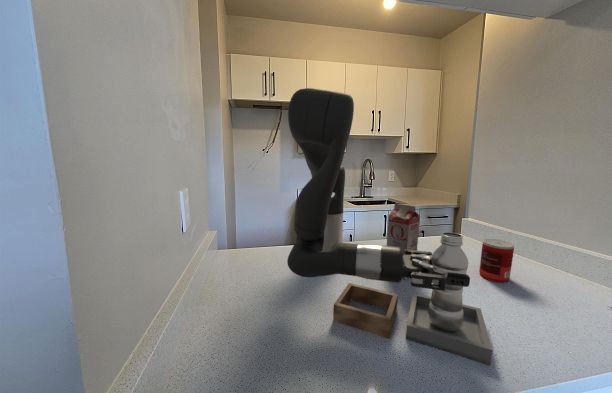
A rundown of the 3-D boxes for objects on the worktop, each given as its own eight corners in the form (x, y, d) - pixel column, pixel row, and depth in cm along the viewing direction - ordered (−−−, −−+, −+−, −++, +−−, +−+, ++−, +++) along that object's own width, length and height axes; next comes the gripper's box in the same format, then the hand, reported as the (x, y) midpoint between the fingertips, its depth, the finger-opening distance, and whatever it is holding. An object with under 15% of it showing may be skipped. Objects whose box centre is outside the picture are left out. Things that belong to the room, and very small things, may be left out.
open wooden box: (333, 320, 57) (333, 304, 56) (348, 297, 66) (349, 282, 66) (389, 338, 51) (390, 320, 51) (396, 310, 61) (398, 294, 60)
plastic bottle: (468, 338, 50) (478, 240, 48) (431, 333, 52) (439, 238, 49) (456, 318, 57) (464, 231, 54) (423, 314, 58) (429, 229, 55)
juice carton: (404, 279, 76) (410, 207, 73) (384, 272, 81) (389, 204, 78) (415, 273, 80) (420, 204, 77) (395, 266, 85) (400, 201, 82)
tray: (405, 339, 51) (406, 325, 51) (412, 304, 64) (413, 292, 63) (490, 365, 45) (492, 350, 44) (479, 320, 57) (480, 308, 57)
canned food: (505, 274, 81) (509, 240, 79) (513, 285, 74) (518, 248, 72) (476, 269, 84) (480, 237, 82) (481, 279, 77) (485, 244, 75)
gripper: (377, 265, 63) (450, 274, 59) (377, 295, 50) (473, 309, 45) (378, 236, 62) (453, 242, 58) (379, 258, 49) (477, 269, 44)
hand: (462, 271), depth 52 cm, fingers open, 7 cm apart
